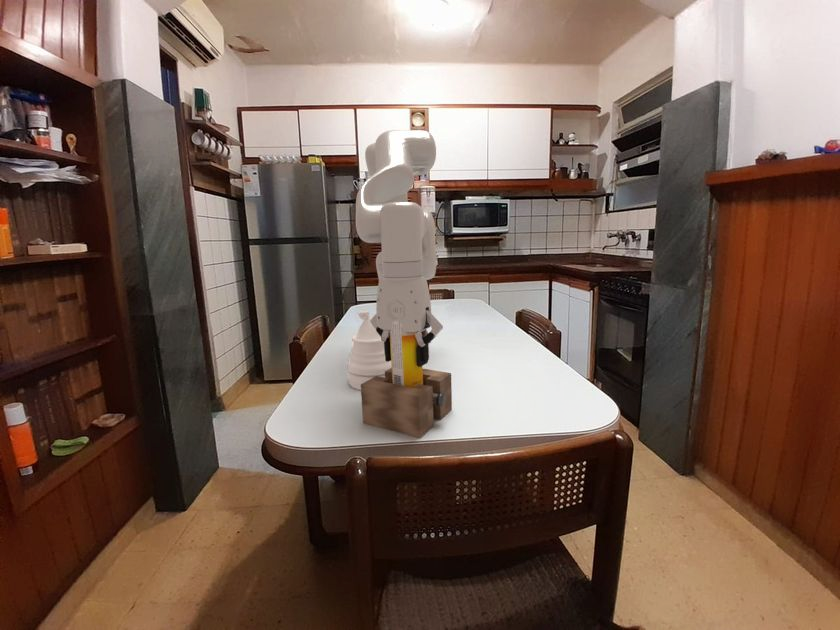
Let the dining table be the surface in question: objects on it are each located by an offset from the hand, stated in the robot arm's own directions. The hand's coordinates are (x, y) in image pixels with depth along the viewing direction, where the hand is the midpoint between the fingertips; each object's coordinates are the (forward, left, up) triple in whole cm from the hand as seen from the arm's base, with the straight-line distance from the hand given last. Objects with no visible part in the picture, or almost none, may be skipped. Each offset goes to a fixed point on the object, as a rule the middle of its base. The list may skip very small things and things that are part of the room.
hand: (406, 361), depth 79 cm
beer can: (0, 0, -6) cm, 6 cm away
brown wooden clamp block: (0, 0, -12) cm, 12 cm away
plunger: (+5, 0, -8) cm, 10 cm away
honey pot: (-18, +13, -12) cm, 25 cm away
